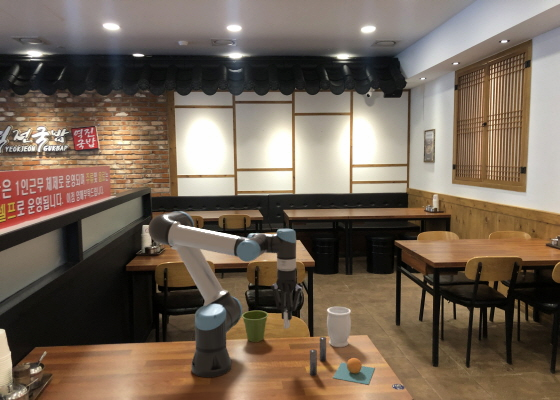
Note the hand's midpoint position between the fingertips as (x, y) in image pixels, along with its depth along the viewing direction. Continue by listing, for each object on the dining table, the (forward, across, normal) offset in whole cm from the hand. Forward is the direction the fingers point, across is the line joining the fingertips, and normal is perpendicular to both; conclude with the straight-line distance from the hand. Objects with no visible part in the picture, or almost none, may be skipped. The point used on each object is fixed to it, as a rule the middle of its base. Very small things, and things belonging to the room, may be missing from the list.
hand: (286, 327), depth 168 cm
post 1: (+14, +13, -6) cm, 20 cm away
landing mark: (+14, +27, 0) cm, 30 cm away
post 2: (+14, +13, +6) cm, 20 cm away
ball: (+11, +27, 0) cm, 29 cm away
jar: (+14, +15, +24) cm, 32 cm away
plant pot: (+14, -21, +15) cm, 29 cm away
